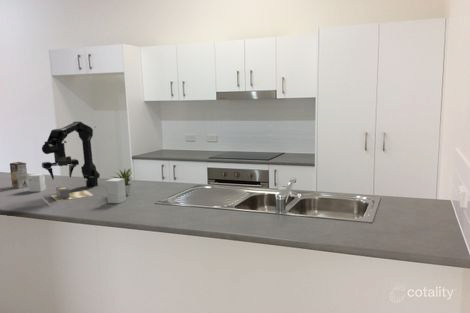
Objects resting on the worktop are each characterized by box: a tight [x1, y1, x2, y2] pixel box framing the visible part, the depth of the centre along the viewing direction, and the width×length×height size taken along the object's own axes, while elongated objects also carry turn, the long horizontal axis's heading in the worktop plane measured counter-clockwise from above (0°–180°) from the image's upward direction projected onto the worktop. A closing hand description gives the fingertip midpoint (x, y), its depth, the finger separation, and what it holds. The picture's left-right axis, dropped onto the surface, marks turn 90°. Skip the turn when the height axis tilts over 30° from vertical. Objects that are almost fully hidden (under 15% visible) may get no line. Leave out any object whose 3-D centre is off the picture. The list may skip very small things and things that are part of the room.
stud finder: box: [55, 185, 70, 199], centre depth 224 cm, size 5×9×5 cm, turn 37°
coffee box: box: [9, 161, 29, 189], centre depth 255 cm, size 9×6×16 cm
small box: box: [27, 173, 47, 193], centre depth 244 cm, size 8×6×10 cm
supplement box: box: [105, 177, 127, 204], centre depth 215 cm, size 7×7×13 cm
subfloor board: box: [51, 190, 94, 202], centre depth 227 cm, size 20×16×1 cm
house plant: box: [112, 167, 133, 197], centre depth 231 cm, size 14×14×16 cm
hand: (61, 178), depth 223 cm, fingers open, 9 cm apart
